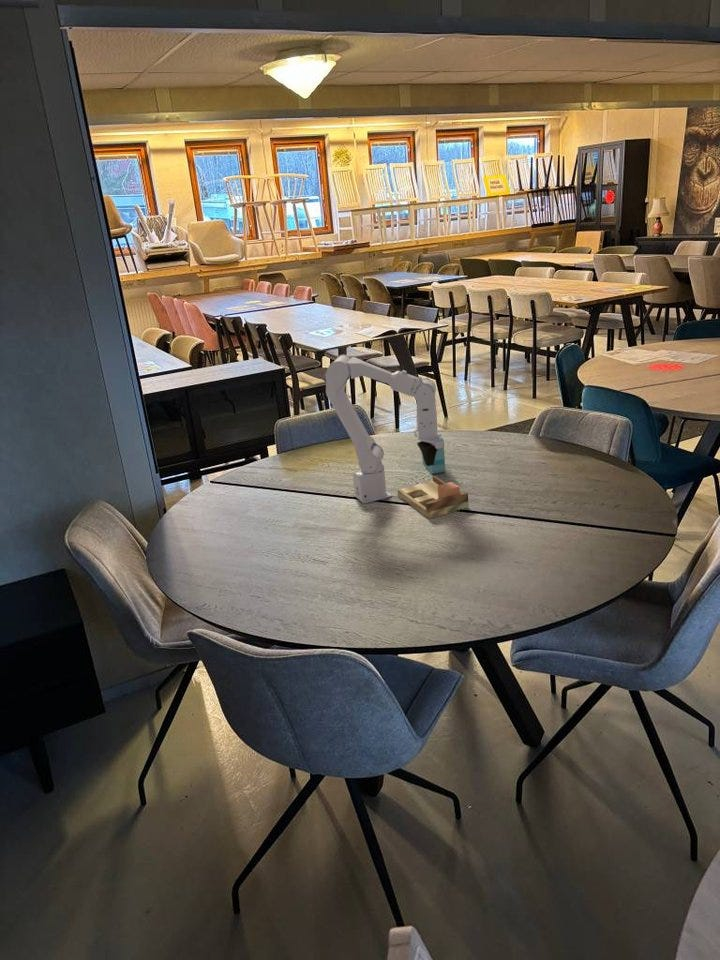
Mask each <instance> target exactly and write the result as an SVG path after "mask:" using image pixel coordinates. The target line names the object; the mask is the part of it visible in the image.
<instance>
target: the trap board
mask: <svg viewBox="0 0 720 960" xmlns="http://www.w3.org/2000/svg"><path fill="white" fill-rule="evenodd" d="M431 479H432V480H430V481H427V482H422V483H418V484H414V485H410V486H407V487H403V488H398V489H397V496H398V497H399V498H400V499H402V500H403V501H404V502H406V504H408V505H410V506H411V507H412V508H413V509H415V510H416V511H417V512H419V513H420V514H421V515H423V516H424V517H426V518H427V519H433V518H436V517H438V516H443V515H447V514H451V513H454V511H455V512H457V510H458V511H461V510H460V509H462V510H464V508H466V509H468V507H469V493H468V492H466V491H464V492H462V491H460V494H456V495H452V496H449V497H445V498H441V499H438V485H442V484H445V483H447V482H446V481H444V480H443V479H441V478H439V477H438V476H436V475H432V478H431Z"/></svg>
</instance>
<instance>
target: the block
mask: <svg viewBox="0 0 720 960" xmlns="http://www.w3.org/2000/svg"><path fill="white" fill-rule="evenodd" d="M460 492H461V491H460V486H459V485H458V484H455V483H454V482H452V481H449V482H446V483H445V484H442V485H438V499H441V498H445V497H449V496H452V495H456V494H460Z"/></svg>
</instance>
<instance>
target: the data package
mask: <svg viewBox="0 0 720 960" xmlns="http://www.w3.org/2000/svg"><path fill="white" fill-rule="evenodd" d="M439 437H440V440H441V441H443V448H439V449H438V450H437V452H436V456H435V461H434V465H431V466H427V465H426V464H425V461H424V458H423V455H422V454H421V459H422V464H423V466H424V467H425V468H426V469H427V471H428V472H429V473H430V475H435V474H442V473H445V472H446V460H445V457H446V456H445V442H444V441H445V440H444V438H443V437H442V435H441V436H439Z"/></svg>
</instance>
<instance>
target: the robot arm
mask: <svg viewBox="0 0 720 960" xmlns="http://www.w3.org/2000/svg"><path fill="white" fill-rule="evenodd" d="M324 376H325V394H326V397H327V399H328V400H329V402H330V404H331V406H332V408H333V409H334V411H335V413H336V415H337V417H338V418H339V420H340V422H341V423H342V425H343V427H344V429H345V431H346V432H347V434H348V436H349V438H350V439H351V442H352V443H353V445H354V449H355V455H356V457H357V460H358V466H359V469H360V470H358V471H357V472H354V473H353V475H352V480H353V488H354V490H353V491H354V494H353V496H354V497H355V498H357V499H358V501H360V502H361V503H362V504H367V503H372V502H376V501H380V500H384V499H387V498H391V497H392V494H391V493H389V492H388V491H387V485H386V484H387V483H386V474H385V472H386V471H385V466H384V464H383V463H382V460H383V459H384V455H385V454H384V449H383V447H382V446H381V445H379V444H378V443H377V442H376V440H375V439H374V438H373V437H372V436H371V435H369V433H368V431H367V429H366V428H365V425H364V424H363V422H362V420H361V418H360V417H359V415H358V413H357V411H356V409H355V408H354V406H353V404H352V403H351V400H350V399H349V397H348V395H347V394H346V391H345V390H346V389H345V388H346V386H347V383H348V379H349V378H350V379H351V380H353V379H357V378H360V377H365V378H369V379H372V380H375V381H378V382H382V383H385V384H388V386H389V387H390V389H391V390H392V391H395V392H398V393H401V394H403V395H406V396H409V397H412V398H413V397H414V398H415V400H416V418H417V419H416V421H417V422H416V423H417V429H416V430H414V431H413V432H414V437H415V438H417V440H418V442H417V443H416V444H417V446H418V448H419V450H420V452H421V456H422V455H423V458H424V461H425V464H426V465H427V466H431V465H434V461H435V456H436V452H437V450H438V449H439V448H443V441H444V440H443V441H441V440H440V437H439V436H441V437H442V433H441V432H438V431H439V430H438V418H437V417H438V413H437V404H436V403H437V401H436V392H437V386H436V383H435V382H434V381H433V380H431V379H430V378H428V377H424V378H423V377H422V376H421V375H420V376H418V377H417V376H415V375H412V374H409V373H407V370H404V369H403V370H402V371H401V370H396V371H393V372H391V371H389V370H386V369H384V368H381V367H379V366H376V365H374V364H372V363H369V362H367V361H364V360H362V359H361V358H358V357H354V356H352V357H351V356H349V355H348V354H341V355H339V356H337V357H336V358H335V360H334V361H332V362H331V363H330V364H329V365H328V368H327V370H326V372H325V374H324Z"/></svg>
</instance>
